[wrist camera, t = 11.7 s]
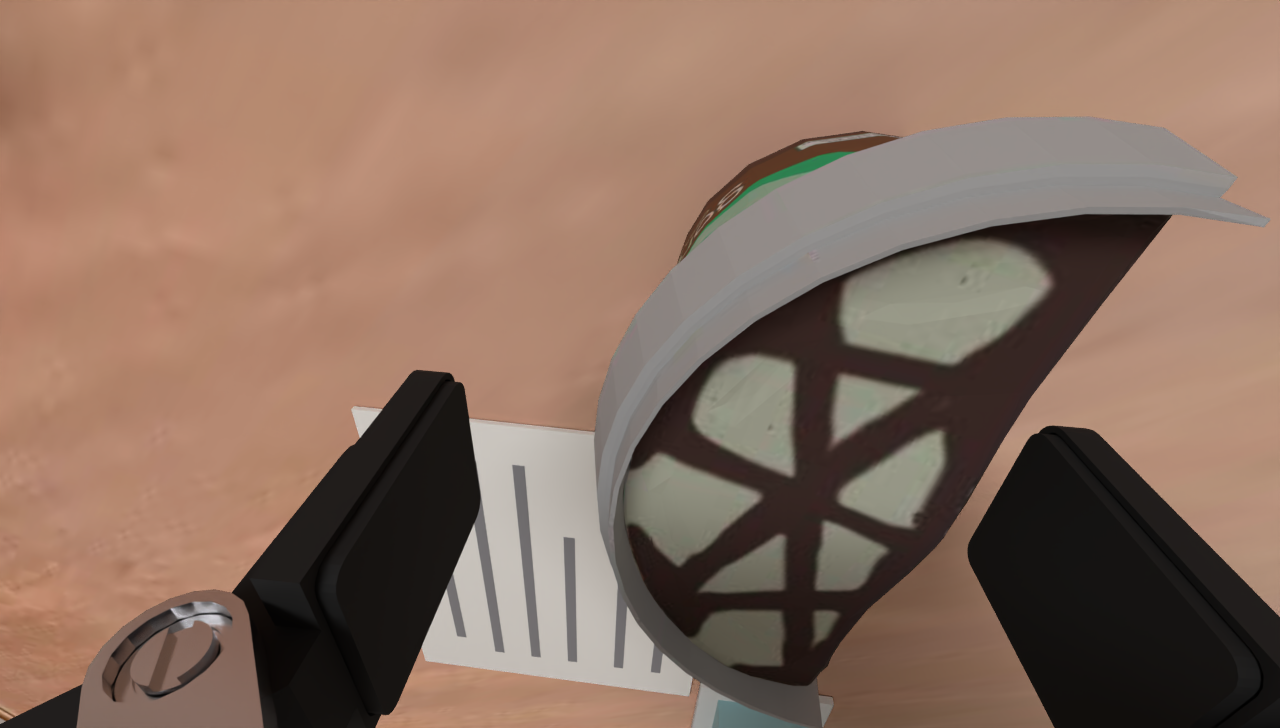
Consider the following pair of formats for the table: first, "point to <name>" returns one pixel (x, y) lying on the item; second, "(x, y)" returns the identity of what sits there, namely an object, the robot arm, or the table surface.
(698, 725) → the mat
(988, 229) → the food container
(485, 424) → the letter
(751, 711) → the teal block
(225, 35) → the table surface
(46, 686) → the table surface
